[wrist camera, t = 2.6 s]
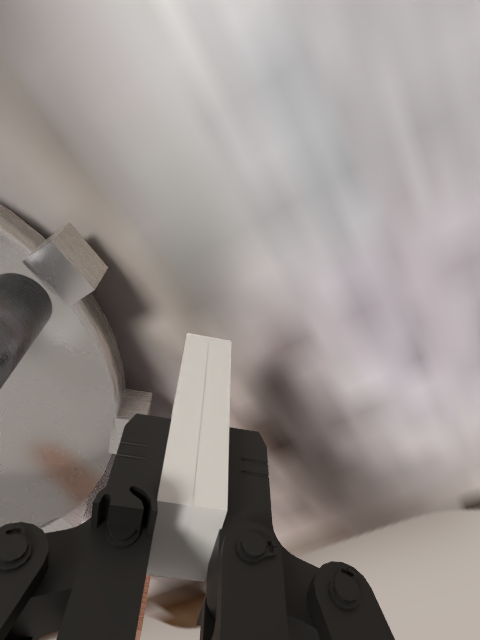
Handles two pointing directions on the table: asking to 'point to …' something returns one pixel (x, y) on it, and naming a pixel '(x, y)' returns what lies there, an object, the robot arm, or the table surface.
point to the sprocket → (55, 377)
